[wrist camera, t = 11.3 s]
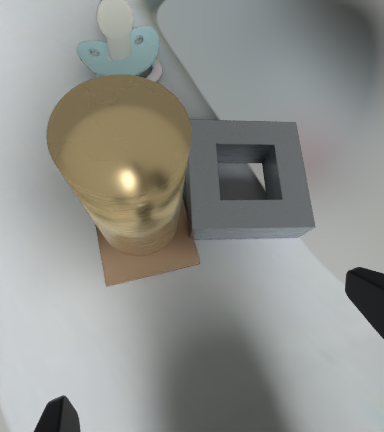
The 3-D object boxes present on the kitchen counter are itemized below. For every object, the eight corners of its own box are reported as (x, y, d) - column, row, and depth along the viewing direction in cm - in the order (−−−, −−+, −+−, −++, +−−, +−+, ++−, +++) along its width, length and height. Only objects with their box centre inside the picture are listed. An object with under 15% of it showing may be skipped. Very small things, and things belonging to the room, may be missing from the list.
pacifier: (174, 85, 29) (148, 38, 30) (179, 27, 23) (147, -28, 24) (100, 109, 27) (76, 58, 28) (85, 52, 21) (56, -8, 23)
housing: (297, 237, 25) (315, 227, 22) (188, 239, 24) (192, 229, 21) (282, 142, 28) (296, 122, 25) (184, 140, 27) (187, 119, 24)
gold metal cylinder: (189, 239, 23) (219, 151, 11) (130, 277, 22) (91, 223, 10) (153, 187, 24) (144, 56, 12) (94, 220, 23) (21, 108, 11)
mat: (199, 263, 23) (200, 262, 23) (107, 286, 22) (106, 285, 22) (177, 182, 25) (177, 180, 25) (92, 199, 24) (90, 197, 24)
